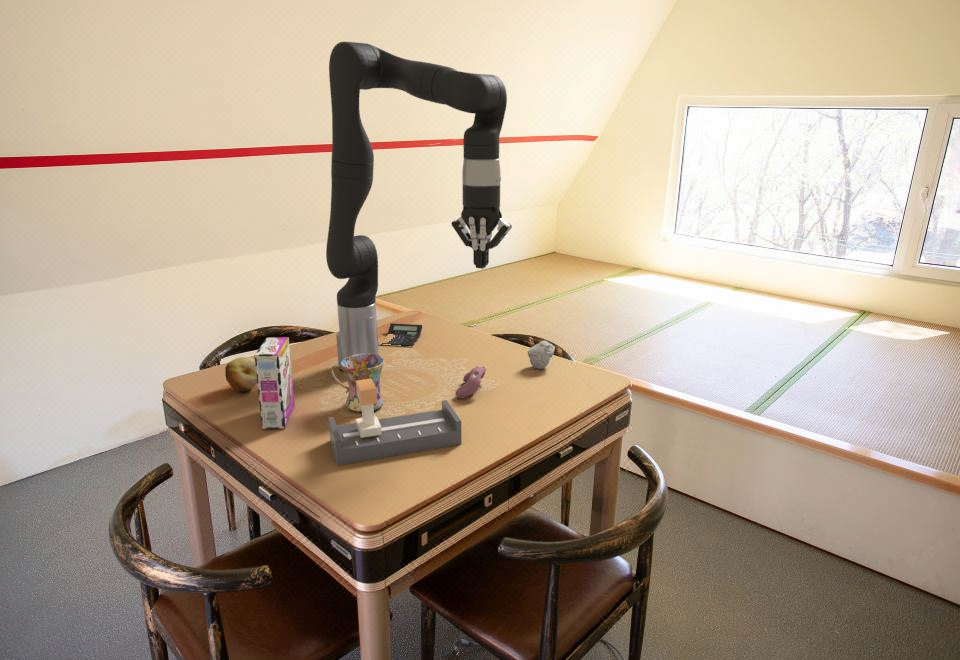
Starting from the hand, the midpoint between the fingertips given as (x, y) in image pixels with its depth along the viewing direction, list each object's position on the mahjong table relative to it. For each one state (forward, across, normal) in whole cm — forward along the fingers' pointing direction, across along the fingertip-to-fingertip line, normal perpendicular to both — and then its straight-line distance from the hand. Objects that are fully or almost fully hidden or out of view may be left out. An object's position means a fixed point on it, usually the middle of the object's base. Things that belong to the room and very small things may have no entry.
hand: (481, 267), depth 135 cm
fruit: (+31, -53, -16) cm, 64 cm away
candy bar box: (+31, -36, -24) cm, 53 cm away
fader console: (+31, -8, -23) cm, 39 cm away
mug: (+31, -24, -12) cm, 41 cm away
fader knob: (+27, -12, -27) cm, 40 cm away
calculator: (+32, -38, +29) cm, 57 cm away
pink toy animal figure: (+31, -5, +5) cm, 32 cm away
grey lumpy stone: (+31, +5, +25) cm, 40 cm away
